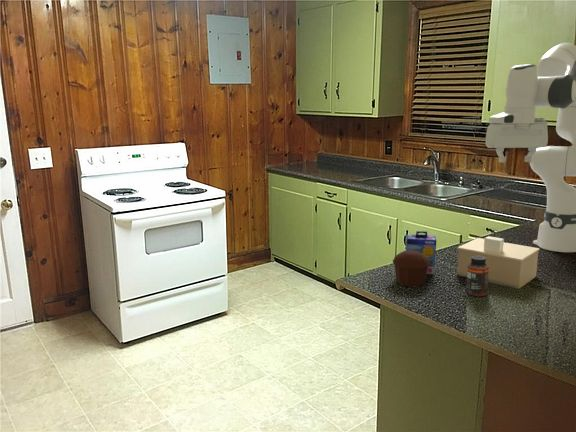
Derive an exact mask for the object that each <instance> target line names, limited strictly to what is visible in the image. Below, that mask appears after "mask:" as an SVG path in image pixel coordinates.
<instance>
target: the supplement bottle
mask: <svg viewBox="0 0 576 432" xmlns="http://www.w3.org/2000/svg"><path fill="white" fill-rule="evenodd" d="M471 261H472V262H471V263H469V264H468V270H467V277H466V290H465V291H466V293H467V294H468V295H470V296H474V297H484V296H486V295H487V294H488V288H489V282H488V272H489V267H488V265H487V264H486V263H485V262H486V258H485V257H483V256H472V257H471Z"/></svg>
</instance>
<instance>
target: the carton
mask: <svg viewBox="0 0 576 432" xmlns="http://www.w3.org/2000/svg"><path fill="white" fill-rule="evenodd" d="M457 250H458V251H457V252H458V253H457V268H456V269H457V270H456V275H457V276H461V277H466V278H467V270H468V264H469V263H471V262H472V261H471V257H472V256H483V257H485V258H486V262H485V263H486V264H487V265H488V267H489V272H488V283H491V284H497V285H500V286H505V287H509V288H512V289H513V288H514V289H516V290H519V289H521V288H522V287H523V286H525V285H526V284H528V283H530V282H531V281H532V280H534V279H535V278H536V277H537V270H538V260H539V251H538V252H536V253H534V254H533V255H531V256H530V257H528V258H526V259H525V260H523V261H517V260H511V259H506V258H501V257H496V256H491V255H486V254H481V253H475V252H470V251H465V250H460V249H457Z"/></svg>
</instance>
